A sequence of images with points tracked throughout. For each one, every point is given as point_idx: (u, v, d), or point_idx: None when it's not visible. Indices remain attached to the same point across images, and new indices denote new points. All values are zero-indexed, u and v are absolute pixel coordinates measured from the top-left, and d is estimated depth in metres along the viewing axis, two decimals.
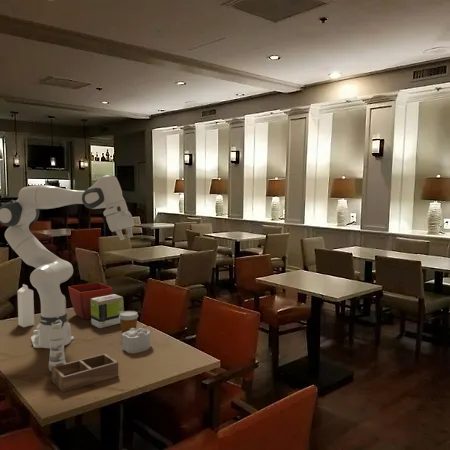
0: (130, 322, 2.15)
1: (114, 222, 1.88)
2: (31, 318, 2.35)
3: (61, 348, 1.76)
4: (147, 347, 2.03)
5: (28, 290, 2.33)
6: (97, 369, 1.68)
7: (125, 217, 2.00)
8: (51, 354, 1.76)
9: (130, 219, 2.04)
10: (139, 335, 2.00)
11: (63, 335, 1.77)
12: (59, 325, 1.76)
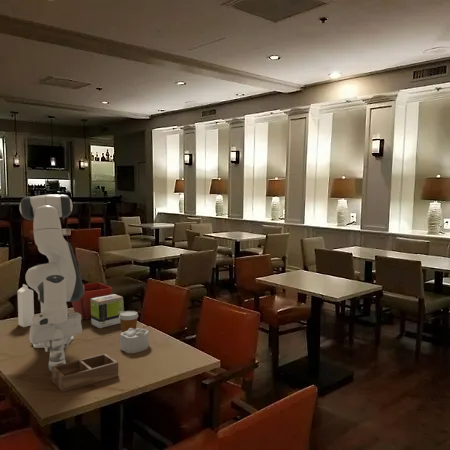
0: (130, 322, 2.15)
1: (32, 335, 1.70)
2: (31, 318, 2.35)
3: (61, 348, 1.76)
4: (145, 347, 2.03)
5: (28, 290, 2.33)
6: (97, 369, 1.68)
7: (63, 326, 1.77)
8: (51, 354, 1.76)
9: (74, 327, 1.80)
10: (138, 335, 2.00)
11: (63, 335, 1.76)
12: None
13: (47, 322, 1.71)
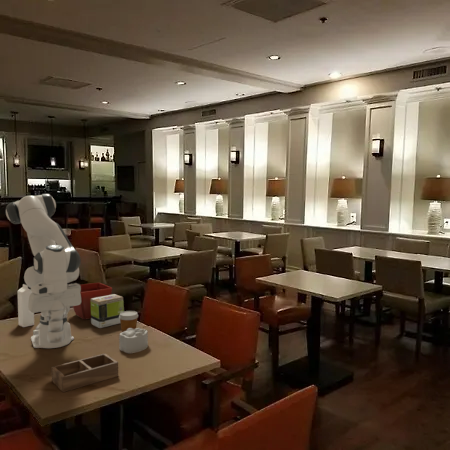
0: (130, 322, 2.15)
1: (31, 304, 1.69)
2: (31, 318, 2.35)
3: (60, 319, 1.75)
4: (145, 347, 2.03)
5: (28, 290, 2.33)
6: (97, 369, 1.68)
7: (62, 296, 1.76)
8: (50, 325, 1.75)
9: (74, 298, 1.79)
10: (137, 335, 2.00)
11: (62, 306, 1.75)
12: (58, 296, 1.75)
13: (46, 291, 1.70)
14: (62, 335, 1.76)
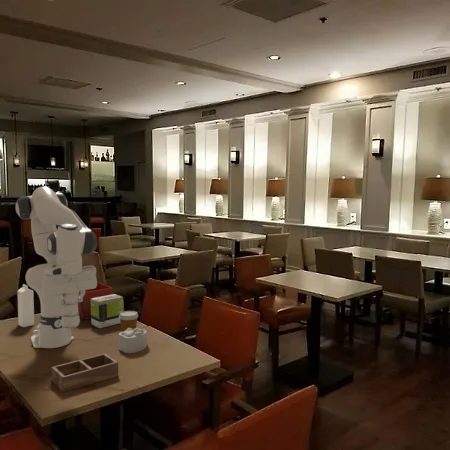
0: (130, 322, 2.15)
1: (44, 286, 1.58)
2: (31, 318, 2.35)
3: (75, 303, 1.64)
4: (144, 347, 2.03)
5: (28, 290, 2.33)
6: (97, 369, 1.68)
7: (77, 278, 1.65)
8: (64, 309, 1.64)
9: (89, 280, 1.68)
10: (136, 335, 2.00)
11: (77, 289, 1.64)
12: (73, 278, 1.64)
13: (61, 272, 1.59)
14: (77, 320, 1.65)
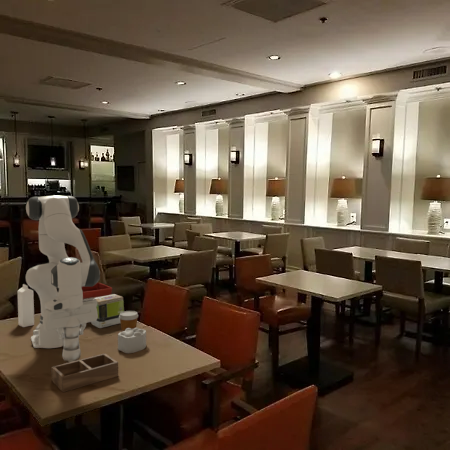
0: (130, 322, 2.15)
1: (45, 321, 1.59)
2: (31, 318, 2.35)
3: (76, 336, 1.65)
4: (143, 346, 2.04)
5: (28, 290, 2.33)
6: (97, 369, 1.68)
7: (78, 312, 1.66)
8: (65, 342, 1.65)
9: (90, 313, 1.69)
10: (136, 335, 2.00)
11: (78, 322, 1.65)
12: (74, 311, 1.65)
13: (61, 307, 1.60)
14: (78, 353, 1.66)
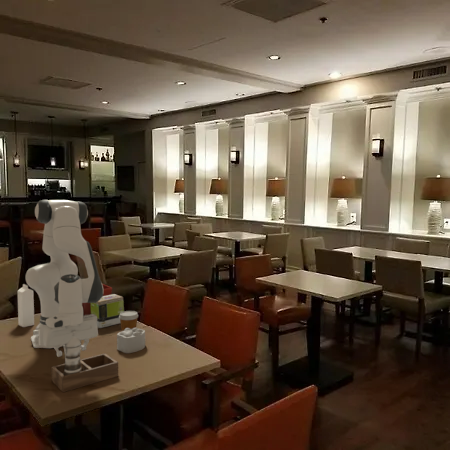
0: (130, 322, 2.15)
1: (46, 338, 1.59)
2: (31, 318, 2.35)
3: (77, 356, 1.66)
4: (142, 346, 2.04)
5: (28, 290, 2.33)
6: (97, 369, 1.68)
7: (78, 329, 1.67)
8: (66, 362, 1.66)
9: (90, 330, 1.70)
10: (135, 335, 2.00)
11: (79, 342, 1.66)
12: None
13: (62, 324, 1.61)
14: None
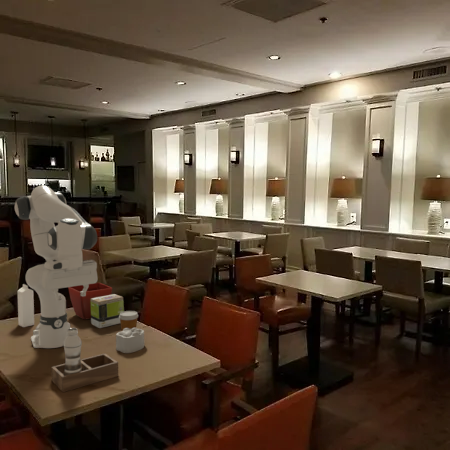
0: (130, 322, 2.15)
1: (45, 280, 1.58)
2: (31, 318, 2.35)
3: (77, 356, 1.67)
4: (142, 346, 2.04)
5: (28, 290, 2.33)
6: (97, 369, 1.68)
7: (78, 273, 1.65)
8: (67, 362, 1.66)
9: (90, 275, 1.68)
10: (134, 335, 2.00)
11: (79, 342, 1.67)
12: (75, 332, 1.66)
13: (61, 267, 1.59)
14: None
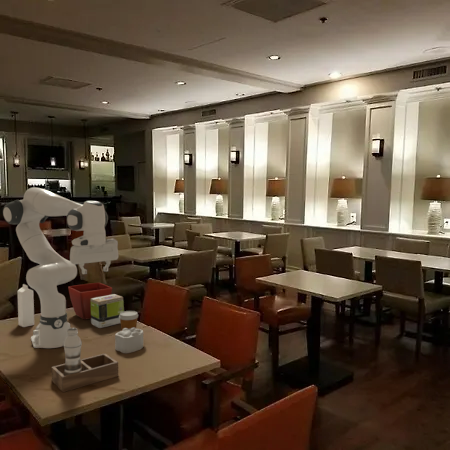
0: (130, 322, 2.15)
1: (73, 255, 1.76)
2: (31, 318, 2.35)
3: (77, 356, 1.66)
4: (141, 346, 2.04)
5: (28, 290, 2.33)
6: (97, 369, 1.68)
7: (101, 250, 1.83)
8: (67, 362, 1.66)
9: (112, 252, 1.86)
10: (133, 335, 2.00)
11: (79, 342, 1.67)
12: (75, 332, 1.66)
13: (87, 243, 1.77)
14: None
